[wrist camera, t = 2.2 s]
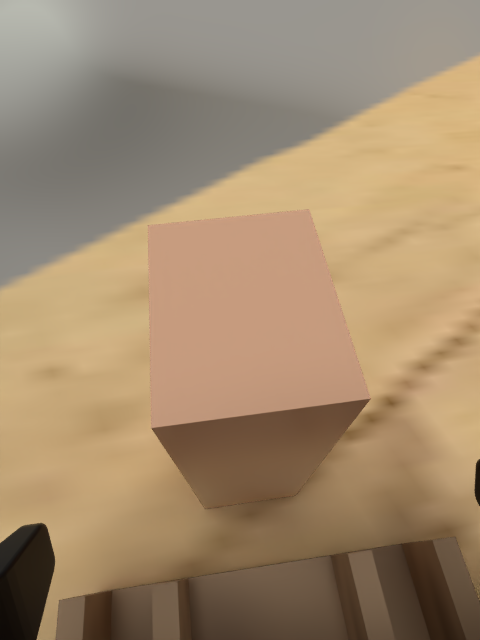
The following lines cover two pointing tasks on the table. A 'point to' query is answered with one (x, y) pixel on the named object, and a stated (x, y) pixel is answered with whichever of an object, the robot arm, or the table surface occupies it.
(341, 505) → the table surface
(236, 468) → the clay block
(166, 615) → the rack
